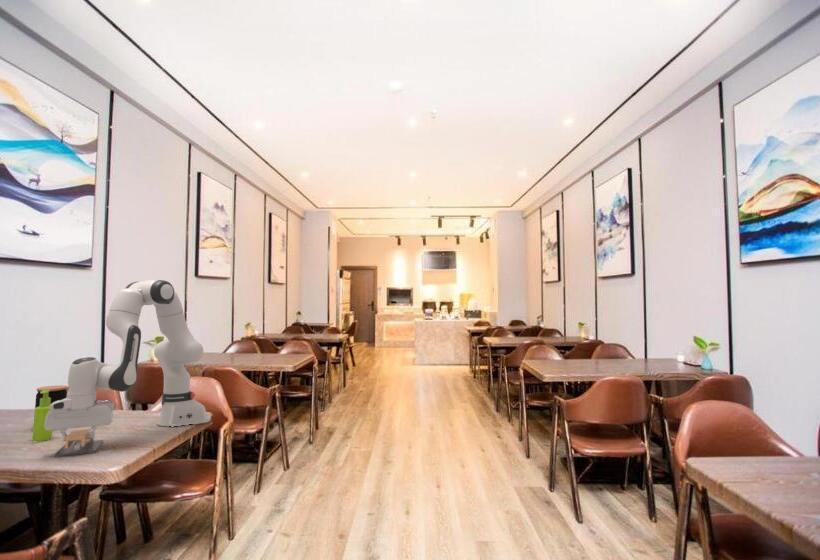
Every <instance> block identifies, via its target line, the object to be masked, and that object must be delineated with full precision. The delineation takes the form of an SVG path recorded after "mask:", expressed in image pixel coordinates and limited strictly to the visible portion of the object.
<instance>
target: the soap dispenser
mask: <svg viewBox="0 0 820 560" xmlns="http://www.w3.org/2000/svg"><path fill="white" fill-rule="evenodd" d="M49 391H50V390H42V391H41V392H40V394H43V398H41V399H40V405H39V407H36V408H35V407H34V415H35V416H34V417H33V427H32V428H33V431H32V442H33V441H41V442H46V441H49V439H50V440H52V436H53V430H45V428H44V422H45V418H46V415H47V413H48V412H49V411H50V408H49V407H50V402H51V398H50V397H48V394H49ZM45 440H46V441H45Z"/></svg>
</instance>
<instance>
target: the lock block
mask: <svg viewBox="0 0 820 560" xmlns="http://www.w3.org/2000/svg"><path fill="white" fill-rule="evenodd" d="M91 431H92V429H90V428H88V429H79V430H78V429H76V430H72V431H71V432H70V433H68V434H67V436H66V441H64V442H65V443H64V445H65V448H68V447H69V446H70V445H71V444H72V443H74V441H75V440H82V446H85V445H86V444H87V443H88V441H89V440H90V439H87V434H88V433H91ZM82 446H81V447H82Z"/></svg>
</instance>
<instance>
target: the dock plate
mask: <svg viewBox="0 0 820 560" xmlns="http://www.w3.org/2000/svg"><path fill="white" fill-rule="evenodd" d="M91 432H92V430H91ZM95 434H96V430H95V431H94V433H93V438H91V439H90V440H89V441H88V443H87V444H86V445H85V446H82V440H75V441H74V442H73V443H72V444H71V445H70V446H69V447H68V448H65V444H64V445H63V446H61V448H59V450H57V452H56V453H54V456H53V457H54V458H62V457H69V456H70V457H71V456H78V455H79V456H80V455H87V454H96V452H98V450H99V449H100V448H101V446H102V444H104V439H99V440H98V439H97V440H95V439H96V438H95V437H96V435H95ZM81 446H82V447H81Z"/></svg>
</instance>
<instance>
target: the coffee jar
mask: <svg viewBox="0 0 820 560" xmlns="http://www.w3.org/2000/svg"><path fill="white" fill-rule="evenodd" d="M68 388H69V386H68V385H47V386H41V387H37V388H36V391H37V393H36V394H35V406H34V409H35V408H36V407H39V405H40V399H41V398H43V394H40V392H41V391H42V390H50V391H49V394H48V397H50V398H51V402H50V405H51V404H52V403H53V402H55V401H58V400H61V399H65V398H67V392H68V390H67V389H68ZM34 416H35V414H34Z"/></svg>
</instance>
